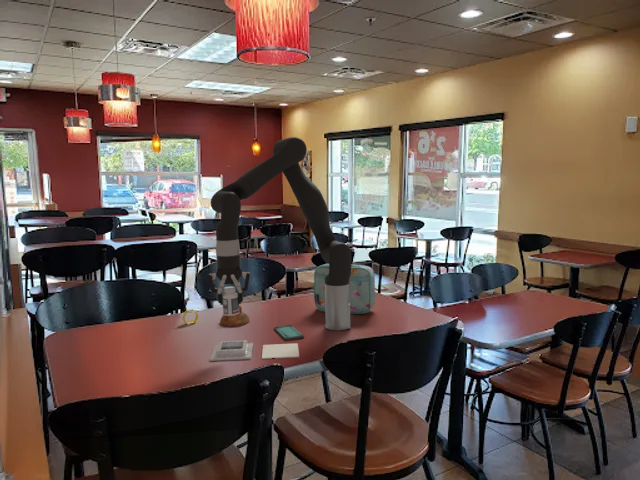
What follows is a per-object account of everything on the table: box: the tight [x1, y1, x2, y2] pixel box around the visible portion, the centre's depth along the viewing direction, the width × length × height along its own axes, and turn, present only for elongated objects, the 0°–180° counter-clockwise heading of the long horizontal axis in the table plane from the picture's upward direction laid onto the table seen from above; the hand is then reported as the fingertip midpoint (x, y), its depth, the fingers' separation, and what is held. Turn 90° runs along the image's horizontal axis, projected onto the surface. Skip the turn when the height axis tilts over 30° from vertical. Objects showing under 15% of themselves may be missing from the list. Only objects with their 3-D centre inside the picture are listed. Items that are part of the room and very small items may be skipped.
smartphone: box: [273, 324, 305, 342], centre depth 180 cm, size 7×1×15 cm
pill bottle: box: [222, 286, 240, 316], centre depth 159 cm, size 5×5×9 cm
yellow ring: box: [182, 307, 199, 325], centre depth 194 cm, size 6×3×6 cm, turn 127°
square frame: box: [209, 339, 254, 362], centre depth 162 cm, size 13×13×2 cm
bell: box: [219, 304, 250, 328], centre depth 195 cm, size 12×12×7 cm
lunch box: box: [311, 263, 376, 315], centre depth 206 cm, size 27×10×21 cm, turn 73°
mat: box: [261, 342, 300, 360], centre depth 162 cm, size 12×12×1 cm
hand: (230, 303), depth 159 cm, fingers closed on pill bottle, 5 cm apart
